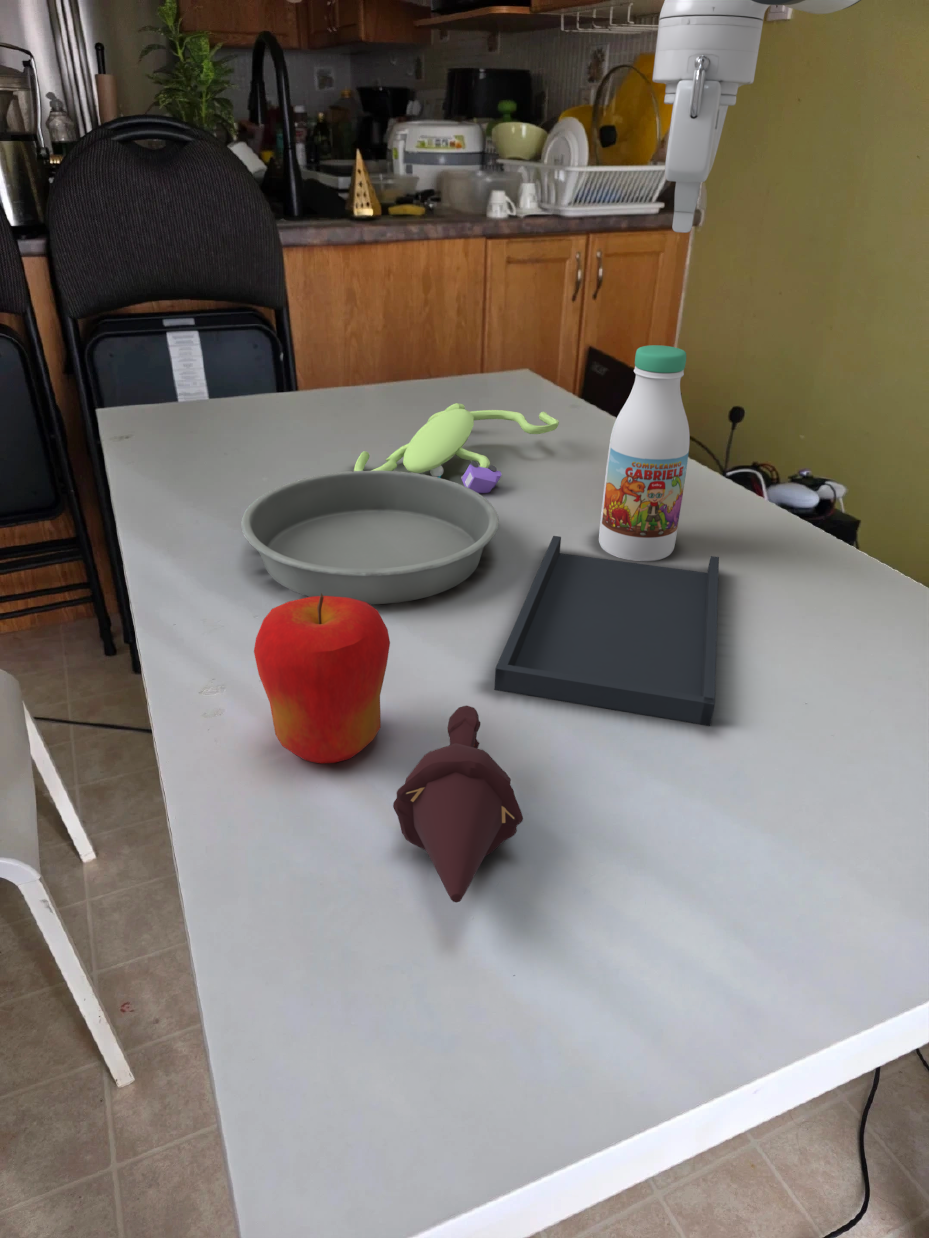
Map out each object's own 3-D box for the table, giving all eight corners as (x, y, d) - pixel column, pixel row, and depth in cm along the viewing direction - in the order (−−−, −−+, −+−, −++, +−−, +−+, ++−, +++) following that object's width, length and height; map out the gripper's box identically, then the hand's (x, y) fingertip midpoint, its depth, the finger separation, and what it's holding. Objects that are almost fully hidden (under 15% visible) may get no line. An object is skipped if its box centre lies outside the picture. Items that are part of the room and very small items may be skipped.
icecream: (548, 861, 43) (528, 706, 57) (402, 827, 42) (417, 678, 56) (506, 963, 46) (497, 792, 60) (368, 933, 45) (390, 766, 59)
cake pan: (190, 571, 83) (184, 527, 81) (348, 492, 102) (346, 454, 100) (407, 644, 73) (406, 596, 71) (539, 541, 91) (542, 500, 89)
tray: (551, 555, 89) (553, 535, 88) (715, 577, 85) (718, 556, 84) (494, 692, 67) (495, 668, 66) (709, 729, 64) (714, 704, 63)
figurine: (570, 449, 118) (574, 407, 115) (473, 513, 97) (475, 465, 95) (450, 425, 125) (451, 386, 123) (337, 480, 105) (335, 434, 102)
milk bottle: (584, 537, 93) (604, 342, 83) (648, 529, 95) (674, 338, 85) (621, 568, 86) (647, 361, 76) (688, 558, 89) (722, 356, 79)
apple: (386, 704, 65) (383, 560, 60) (396, 777, 58) (393, 621, 52) (267, 712, 64) (252, 566, 58) (262, 787, 57) (245, 629, 51)
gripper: (743, 53, 69) (714, 245, 75) (740, 68, 86) (717, 223, 93) (661, 52, 70) (639, 240, 77) (675, 67, 87) (656, 220, 94)
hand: (682, 231), depth 85 cm, fingers closed
